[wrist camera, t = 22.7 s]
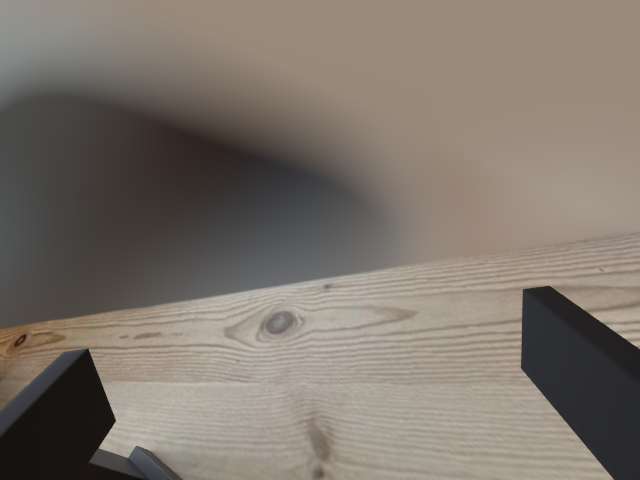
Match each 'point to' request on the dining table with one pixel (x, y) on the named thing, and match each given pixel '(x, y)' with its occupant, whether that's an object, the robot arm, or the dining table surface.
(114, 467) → the coffee maker
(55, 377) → the robot arm
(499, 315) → the dining table surface
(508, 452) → the dining table surface
